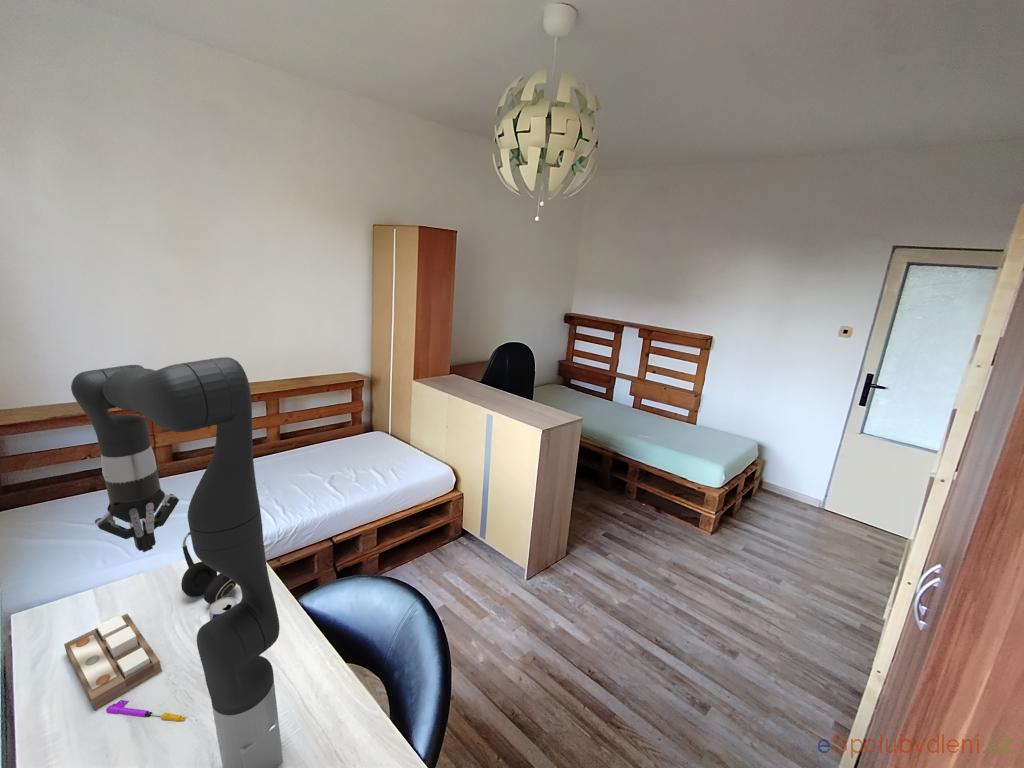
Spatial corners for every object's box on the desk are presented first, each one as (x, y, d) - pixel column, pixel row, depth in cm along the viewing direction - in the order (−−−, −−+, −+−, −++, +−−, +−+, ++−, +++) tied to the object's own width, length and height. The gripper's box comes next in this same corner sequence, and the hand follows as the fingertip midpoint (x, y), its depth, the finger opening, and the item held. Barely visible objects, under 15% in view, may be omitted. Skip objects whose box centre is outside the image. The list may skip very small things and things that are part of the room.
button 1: (128, 634, 103) (126, 623, 102) (105, 646, 99) (102, 635, 98) (122, 624, 105) (120, 614, 104) (99, 636, 101) (96, 625, 101)
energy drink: (229, 659, 100) (223, 617, 96) (209, 653, 101) (202, 611, 97) (247, 640, 105) (242, 599, 101) (228, 634, 106) (222, 594, 102)
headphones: (205, 577, 122) (195, 515, 116) (248, 591, 119) (240, 528, 113) (174, 599, 114) (162, 533, 109) (220, 615, 111) (209, 548, 105)
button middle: (138, 646, 98) (136, 635, 98) (114, 659, 95) (111, 648, 94) (131, 636, 101) (129, 626, 100) (108, 648, 97) (105, 638, 96)
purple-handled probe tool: (104, 713, 87) (182, 724, 86) (104, 707, 87) (182, 718, 86) (117, 703, 90) (193, 713, 89) (117, 697, 90) (193, 707, 89)
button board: (161, 670, 96) (159, 658, 95) (94, 710, 87) (91, 697, 86) (129, 623, 107) (126, 611, 106) (66, 654, 98) (63, 642, 97)
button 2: (151, 668, 95) (149, 658, 94) (126, 683, 92) (124, 672, 91) (144, 657, 97) (141, 647, 96) (119, 671, 94) (117, 660, 93)
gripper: (89, 492, 75) (109, 575, 81) (180, 465, 86) (193, 540, 91) (77, 477, 79) (96, 557, 85) (165, 453, 90) (178, 526, 95)
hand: (146, 548), depth 88 cm, fingers closed
